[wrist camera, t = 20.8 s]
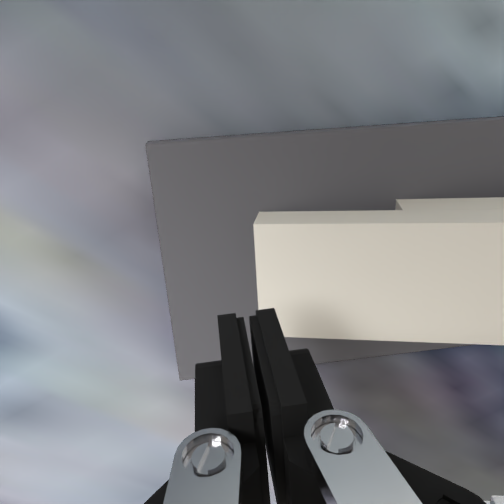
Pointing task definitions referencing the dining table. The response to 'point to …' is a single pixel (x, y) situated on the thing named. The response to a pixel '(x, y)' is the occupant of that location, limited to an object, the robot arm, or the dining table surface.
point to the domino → (384, 274)
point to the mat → (296, 199)
